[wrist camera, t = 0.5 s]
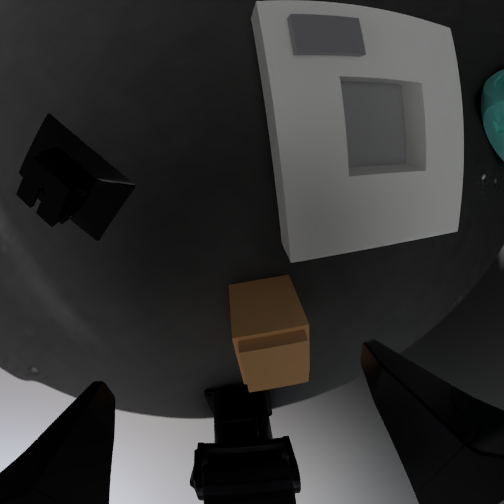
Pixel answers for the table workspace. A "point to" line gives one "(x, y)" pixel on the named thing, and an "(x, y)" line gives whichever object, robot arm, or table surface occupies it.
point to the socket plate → (359, 125)
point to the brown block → (269, 333)
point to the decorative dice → (494, 111)
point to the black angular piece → (71, 181)
